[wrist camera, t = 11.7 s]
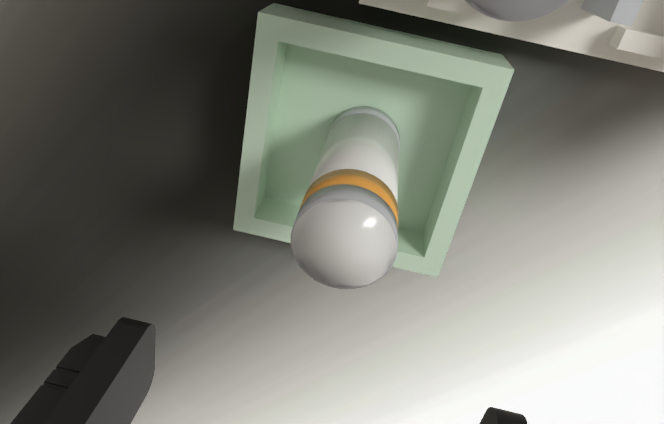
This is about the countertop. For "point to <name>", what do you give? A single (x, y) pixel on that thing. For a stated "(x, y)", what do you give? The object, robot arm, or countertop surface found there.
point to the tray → (375, 91)
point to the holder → (564, 26)
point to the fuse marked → (351, 203)
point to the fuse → (516, 8)
